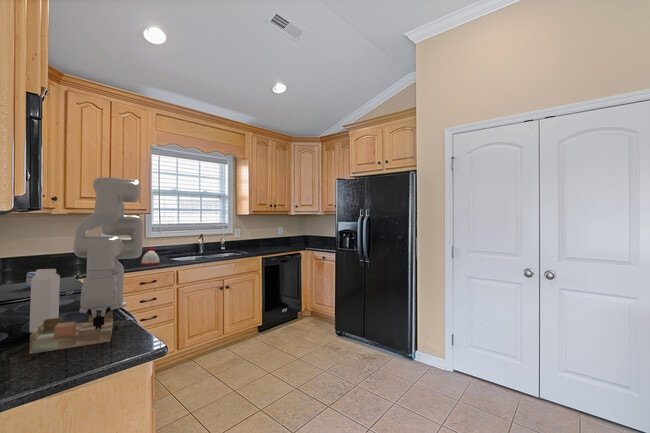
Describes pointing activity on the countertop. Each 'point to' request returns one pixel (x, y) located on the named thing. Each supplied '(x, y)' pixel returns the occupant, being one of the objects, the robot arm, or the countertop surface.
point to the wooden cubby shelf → (84, 335)
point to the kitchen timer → (150, 257)
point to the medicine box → (29, 279)
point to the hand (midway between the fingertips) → (98, 327)
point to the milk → (44, 297)
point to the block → (65, 329)
